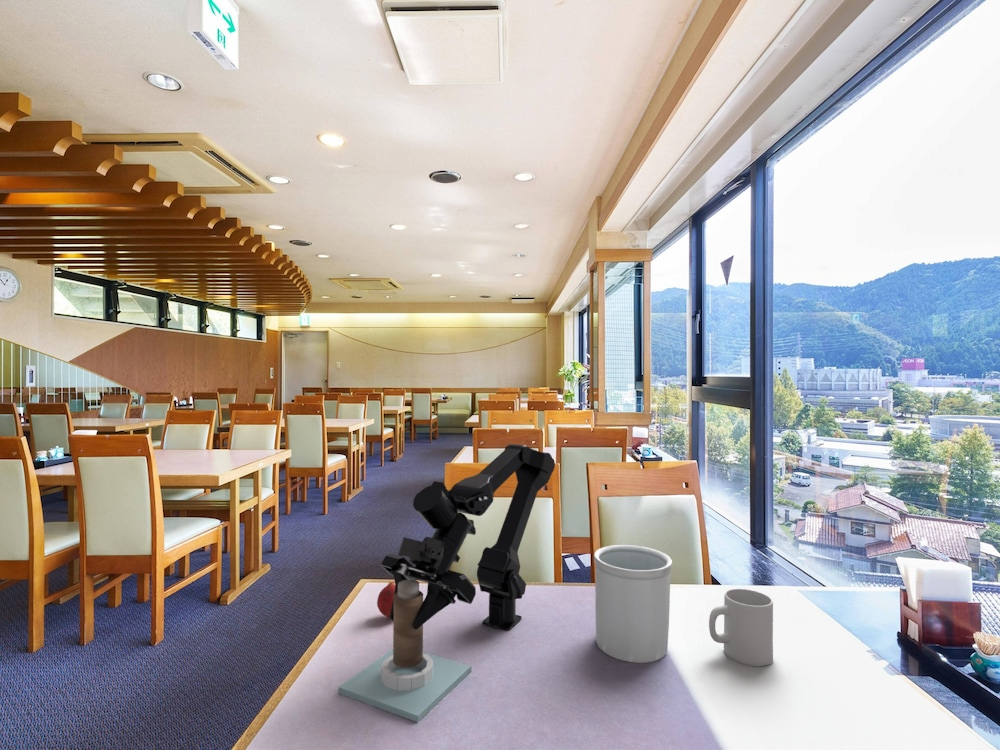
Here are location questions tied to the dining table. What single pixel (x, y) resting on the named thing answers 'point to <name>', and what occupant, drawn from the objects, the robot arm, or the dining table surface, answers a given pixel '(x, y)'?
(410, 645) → the pepper mill
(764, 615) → the mug
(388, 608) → the onion
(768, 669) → the dining table surface
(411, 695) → the board
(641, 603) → the utensil holder
